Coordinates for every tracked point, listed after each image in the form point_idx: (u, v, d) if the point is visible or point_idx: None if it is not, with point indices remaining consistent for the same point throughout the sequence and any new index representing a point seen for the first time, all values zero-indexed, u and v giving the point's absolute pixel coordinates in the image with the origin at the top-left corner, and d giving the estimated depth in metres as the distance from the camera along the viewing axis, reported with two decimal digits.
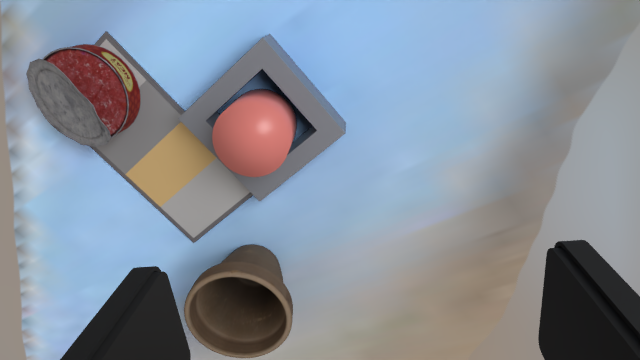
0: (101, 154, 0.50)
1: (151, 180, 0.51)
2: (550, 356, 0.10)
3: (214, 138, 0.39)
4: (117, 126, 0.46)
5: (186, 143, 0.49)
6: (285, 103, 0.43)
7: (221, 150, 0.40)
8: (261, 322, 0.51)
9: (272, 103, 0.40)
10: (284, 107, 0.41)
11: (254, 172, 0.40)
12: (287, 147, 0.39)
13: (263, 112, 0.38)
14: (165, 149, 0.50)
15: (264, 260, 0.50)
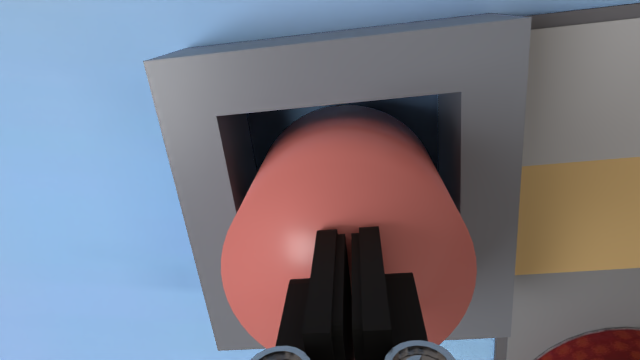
0: None
1: None
2: None
3: (435, 340, 0.13)
4: None
5: (559, 234, 0.20)
6: None
7: (446, 305, 0.12)
8: None
9: None
10: None
11: (410, 195, 0.11)
12: (254, 201, 0.11)
13: (257, 318, 0.13)
14: (614, 248, 0.20)
15: None
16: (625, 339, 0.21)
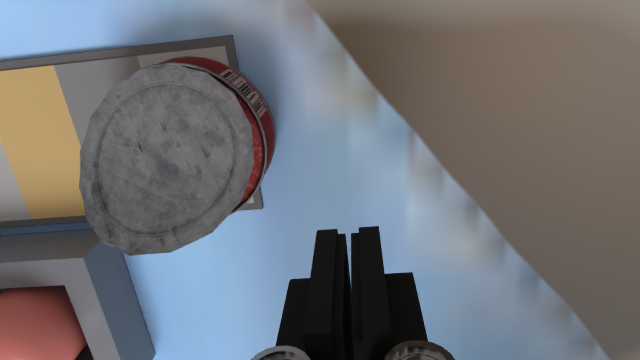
0: (104, 54, 0.27)
1: (27, 99, 0.28)
2: None
3: (19, 336, 0.27)
4: None
5: (67, 191, 0.31)
6: None
7: None
8: None
9: None
10: None
11: None
12: None
13: None
14: (69, 155, 0.30)
15: None
16: None
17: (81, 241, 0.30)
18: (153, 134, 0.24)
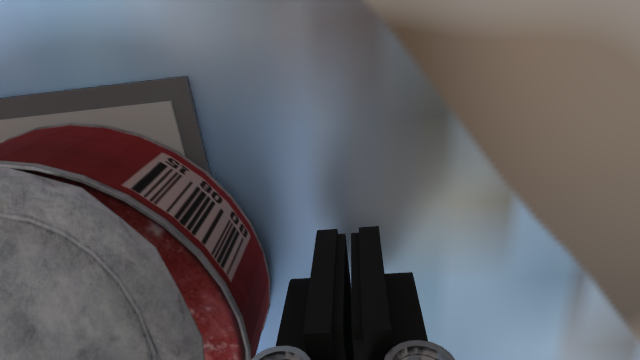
0: None
1: None
2: None
3: None
4: None
5: None
6: None
7: None
8: None
9: None
10: None
11: None
12: None
13: None
14: None
15: None
16: None
17: None
18: None
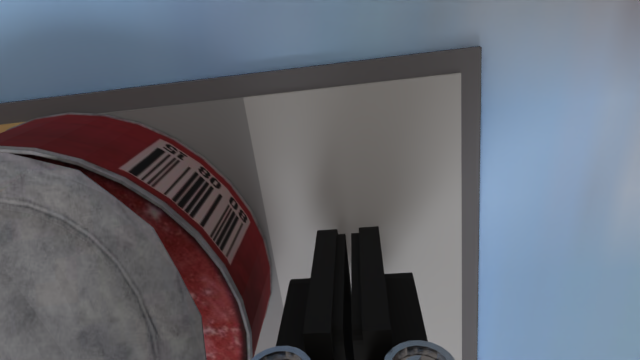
0: (164, 94, 0.12)
1: None
2: None
3: None
4: None
5: None
6: None
7: None
8: None
9: None
10: None
11: None
12: None
13: None
14: None
15: None
16: None
17: None
18: None
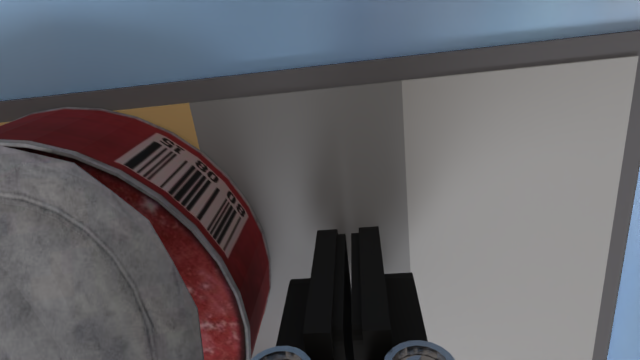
0: (316, 77, 0.11)
1: None
2: None
3: None
4: None
5: None
6: None
7: None
8: None
9: None
10: None
11: None
12: None
13: None
14: None
15: None
16: None
17: None
18: None
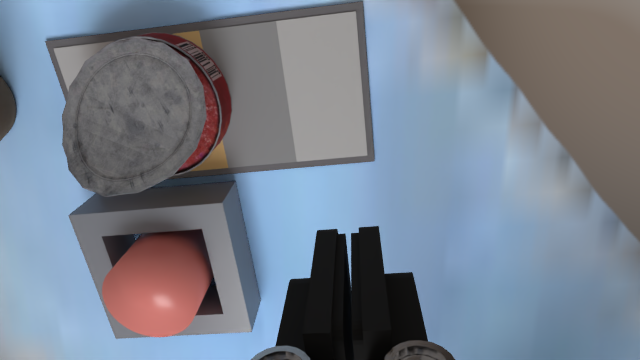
0: (245, 20, 0.30)
1: None
2: None
3: (171, 271, 0.31)
4: None
5: None
6: None
7: (153, 268, 0.31)
8: None
9: None
10: None
11: (111, 281, 0.32)
12: (124, 324, 0.33)
13: (173, 328, 0.33)
14: None
15: None
16: None
17: (211, 191, 0.34)
18: (122, 97, 0.28)
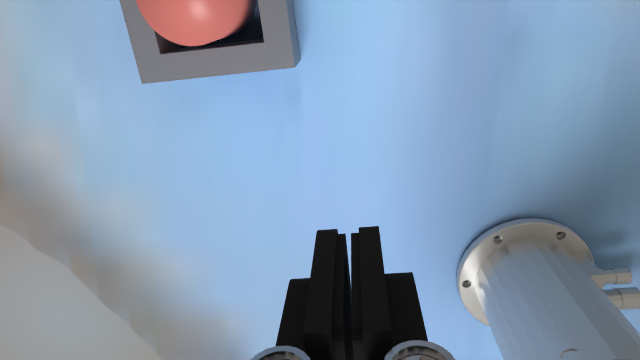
0: None
1: None
2: None
3: None
4: None
5: None
6: None
7: None
8: None
9: (220, 38, 0.31)
10: None
11: None
12: (156, 29, 0.29)
13: (211, 31, 0.29)
14: None
15: None
16: None
17: None
18: None
